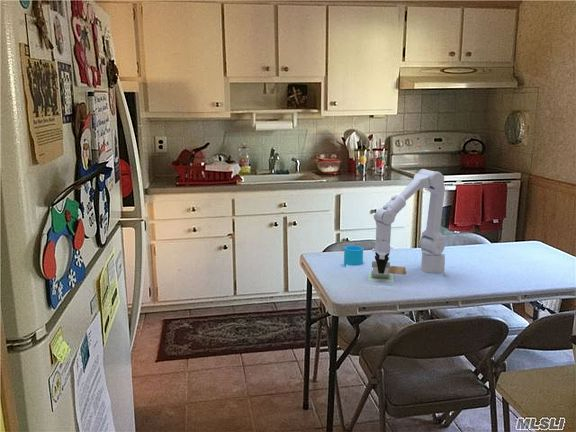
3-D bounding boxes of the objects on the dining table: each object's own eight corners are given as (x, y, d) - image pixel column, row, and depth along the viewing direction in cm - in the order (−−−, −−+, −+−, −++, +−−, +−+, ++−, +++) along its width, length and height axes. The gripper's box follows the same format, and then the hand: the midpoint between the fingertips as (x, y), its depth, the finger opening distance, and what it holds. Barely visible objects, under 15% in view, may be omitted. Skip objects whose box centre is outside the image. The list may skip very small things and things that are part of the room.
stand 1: (393, 277, 212) (393, 274, 212) (393, 285, 202) (393, 282, 202) (368, 275, 214) (368, 272, 213) (367, 283, 204) (367, 280, 204)
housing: (389, 274, 209) (389, 262, 208) (389, 277, 205) (389, 265, 204) (371, 273, 210) (372, 261, 209) (371, 276, 206) (372, 264, 205)
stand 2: (405, 270, 222) (405, 266, 221) (405, 277, 212) (405, 274, 212) (381, 268, 223) (381, 265, 223) (381, 275, 214) (381, 272, 213)
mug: (364, 268, 224) (365, 250, 222) (346, 269, 222) (347, 251, 220) (356, 260, 235) (357, 243, 233) (339, 261, 234) (339, 243, 232)
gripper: (373, 233, 212) (371, 265, 215) (372, 242, 198) (370, 276, 201) (390, 234, 211) (389, 266, 214) (390, 243, 197) (388, 277, 200)
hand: (381, 271), depth 207 cm, fingers closed on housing, 4 cm apart
